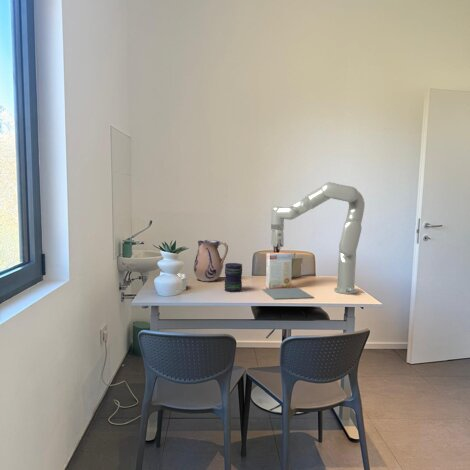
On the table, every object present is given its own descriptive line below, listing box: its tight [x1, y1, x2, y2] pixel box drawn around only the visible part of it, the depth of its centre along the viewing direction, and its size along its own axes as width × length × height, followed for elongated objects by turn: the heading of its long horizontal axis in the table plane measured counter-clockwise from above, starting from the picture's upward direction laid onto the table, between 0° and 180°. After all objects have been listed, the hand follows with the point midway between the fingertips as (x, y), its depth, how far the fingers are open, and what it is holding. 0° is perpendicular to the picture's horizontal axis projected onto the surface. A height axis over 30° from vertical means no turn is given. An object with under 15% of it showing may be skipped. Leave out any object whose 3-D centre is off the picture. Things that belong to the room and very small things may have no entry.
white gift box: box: [175, 272, 187, 293], centre depth 233 cm, size 10×13×9 cm
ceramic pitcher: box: [193, 239, 229, 282], centre depth 259 cm, size 18×21×25 cm
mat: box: [262, 287, 314, 301], centre depth 229 cm, size 22×22×1 cm
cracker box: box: [265, 252, 293, 289], centre depth 242 cm, size 14×6×21 cm, turn 106°
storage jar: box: [224, 262, 243, 293], centre depth 233 cm, size 10×10×18 cm
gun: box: [291, 256, 304, 279], centre depth 272 cm, size 24×3×15 cm, turn 143°
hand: (276, 258), depth 247 cm, fingers closed
